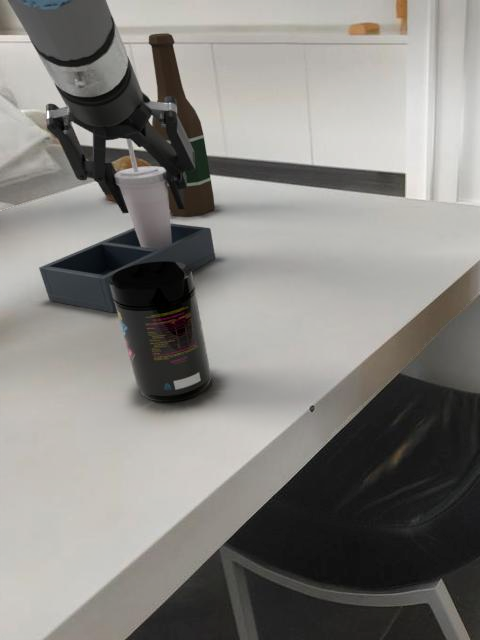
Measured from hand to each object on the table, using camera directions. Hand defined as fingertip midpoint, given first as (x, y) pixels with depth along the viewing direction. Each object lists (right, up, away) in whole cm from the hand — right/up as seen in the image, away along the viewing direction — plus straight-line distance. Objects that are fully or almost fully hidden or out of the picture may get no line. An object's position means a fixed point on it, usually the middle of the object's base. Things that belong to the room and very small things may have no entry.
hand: (153, 201), depth 88 cm
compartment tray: (-1, -10, -2) cm, 11 cm away
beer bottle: (-1, +8, +23) cm, 24 cm away
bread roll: (-13, +14, +33) cm, 38 cm away
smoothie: (+1, -7, 0) cm, 7 cm away
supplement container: (+10, -28, -25) cm, 39 cm away
